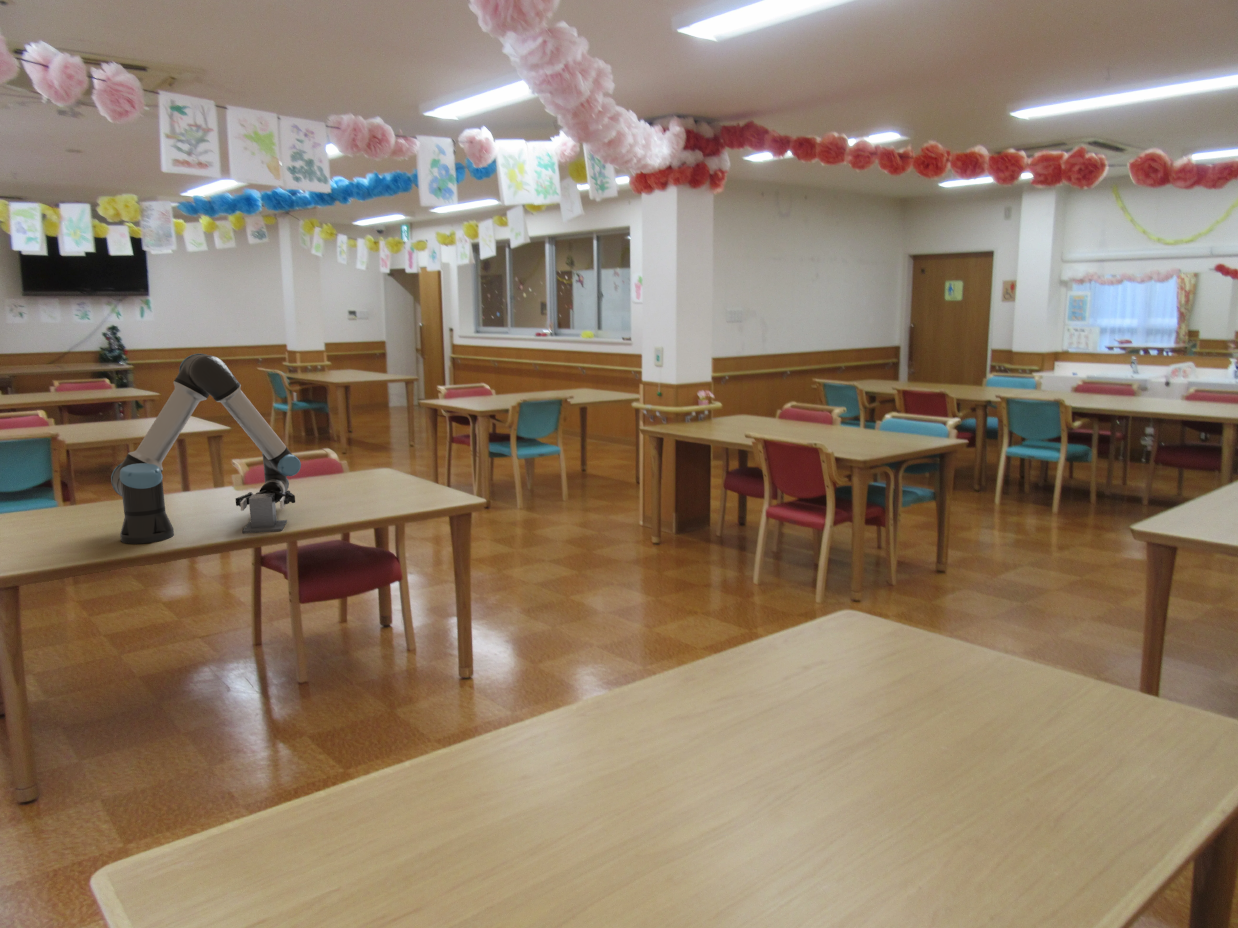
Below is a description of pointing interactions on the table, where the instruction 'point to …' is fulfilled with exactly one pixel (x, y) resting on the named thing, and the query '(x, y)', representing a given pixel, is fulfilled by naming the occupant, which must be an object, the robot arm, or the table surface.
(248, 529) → the base plate
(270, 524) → the grey upright block
